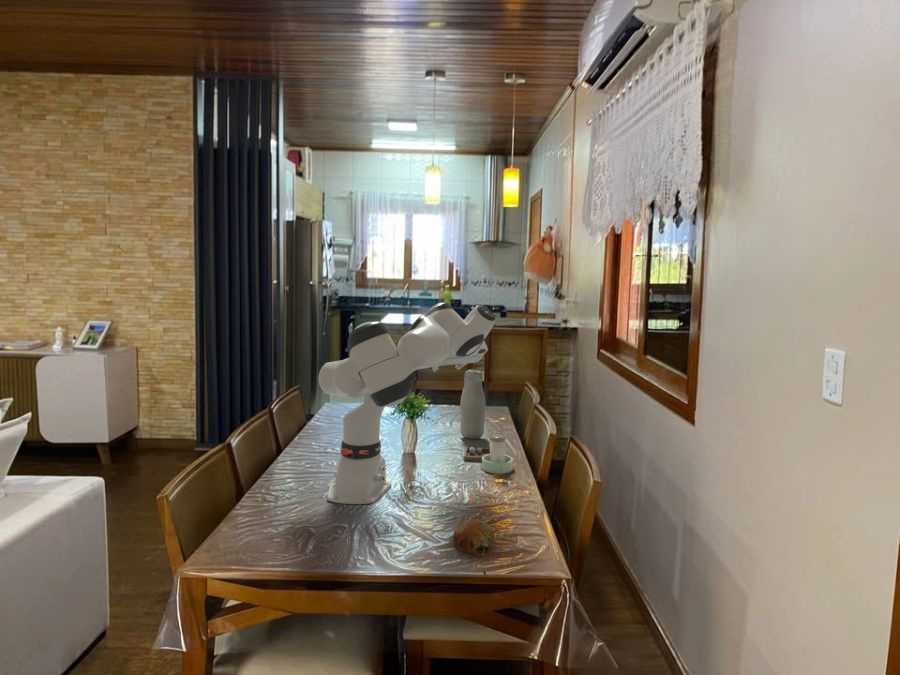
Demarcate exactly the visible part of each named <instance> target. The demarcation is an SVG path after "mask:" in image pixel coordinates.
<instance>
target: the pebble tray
mask: <svg viewBox="0 0 900 675" xmlns="http://www.w3.org/2000/svg"><path fill="white" fill-rule="evenodd" d="M470 448H471V447H465V450H464V455H463V461H464V462H480V463H482V456H484V455H487V454H490V448H487V447H486V448H485V447H484V448H483V447H480V448H481V449H482V453H481V454H478V453H477V452H476V451H475V453H474V454H470V453H469V449H470ZM474 448H475V450H477V448H478V447H474Z"/></svg>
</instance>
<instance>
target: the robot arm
mask: <svg viewBox="0 0 900 675" xmlns="http://www.w3.org/2000/svg"><path fill="white" fill-rule="evenodd" d="M496 318H497V317H496V316H495V314H494V313H493V311H491V309H489V308H488V307H487V306H485V305H482V304H478V305H476V306H474V308H473V309H472V310H471V311H470V312H469V313H468V314H467V315H466V317H465V318H464V319H463V318H462V317H461V316H460V315H459V313H458V312H456V310H454V308H453V307H452V306H451V305H450V304H449V303H448V302H438V303H436V304H434V305H432V307H431V308H430V309H428V310H427V311H426V312H424V313H423V314H421V315H420V316H418V317H417V319H416V320H414V322H413V323H412V325H411V326H410V330H409V331H408V332H406V333H405V334H404V335H402V336H401V337H400V338H399V340H398V342H397V346H396V344H395V343H394V340H393V339H392V337H391V335H390V331H389V330H388V328H387V327H386V325H385V324H384V323H383V322H382V321H376V320H375V321H367V322H363V323H361V324H359V325H357V326H356V327H355V328H354V329H353V330H351V331H350V333H349V336H348V338H347V346H346V347H345V350H344V351H345V352H348V355H349V357H347V358H345V359H342V360H334V361H330V362H325V363H324V364H323V365H322V366H321V368H320V370H319V373H318V377H317V378H318V379H317V380H318V385H319V387H320V389H321V390H322V392H323V393H324V394H325V395H329V396H336V397H341V398H350V399H351V398H352V399H358V398H363V399H364V400H363V403H361V404H359V405H357V406H355V407H354V408H352V409H349V410H348V411H347V412H346V413H345V414H344V417H343V420H342V422H343V423H342V440H341V444H340V455H339V456H338V457H337V467H336V472H335V473H334V479H331V480H330V484H329V488H328V494H327V501H328V502H331V503H335V504H343V505H346V504H347V505H367V504H368V505H369V504H373V503H375V502H376V501H378V499H380V498H381V497H382V496H383V495H384V494H385V493H386V492H387V491H389V489H390V488H391V487H392V483H391V482H390V481H388V480H387V472H386V471H387V468H386V467H387V466H386V459H385V458H384V457H383V456H382V454H381V450H382V449H381V448H382V443H381V439H380V433H381V430H380V428H381V420H382V414H383V412H384V410H385V408H386V407H387V408H388V407H389V408H391V407H394V406H396V405H399V404H401V403H402V402H403V401H405V400H406V398H407V397H409V395H411V392H412V391H413V389H414V388H413V386H414V381H415V380H417V376H413V372H414V371H417V370H423V369H428V368H432V372H434V373H435V372H437V373H438V372H439V370H440V367H442V366H451V365H452V366H454V368H455V370H461V369H462V368H463V367H465V366H466V365H468V364H474V363H478V362H479V361H480V360H481V359H482V358H483V357H484V355H485V354H486V353H487V352H488V351H489V348H488V345H487V343H486V341H485V339H486V338H487V336H488V335H489V333H490V332H491V330H492V329H493V326H494V325H495V323H496Z"/></svg>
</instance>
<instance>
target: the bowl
mask: <svg viewBox="0 0 900 675" xmlns="http://www.w3.org/2000/svg"><path fill="white" fill-rule="evenodd" d="M513 469H514V458H513V457H511V456H510V455H508V454H505V462H504V463H493V462H490V454H487V455H484V456H482V462H481V470H483V471H484V472H487V473H491V474H507V473H511V472H512V471H514V470H513Z"/></svg>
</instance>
